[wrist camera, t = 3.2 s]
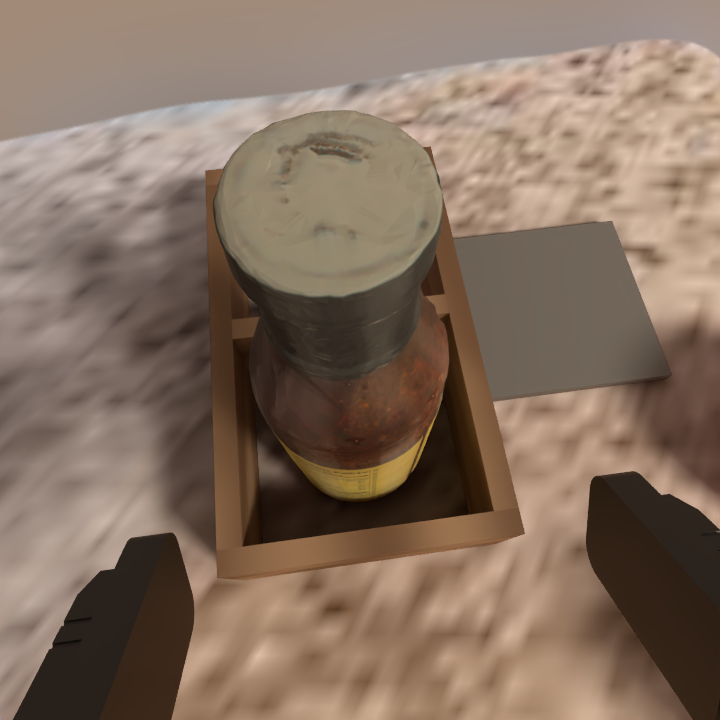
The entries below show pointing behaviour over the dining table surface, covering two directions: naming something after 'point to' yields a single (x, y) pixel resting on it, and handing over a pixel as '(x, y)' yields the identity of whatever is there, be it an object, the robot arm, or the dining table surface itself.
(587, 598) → the dining table surface
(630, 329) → the coaster
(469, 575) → the dining table surface
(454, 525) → the caddy
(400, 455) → the sauce bottle
